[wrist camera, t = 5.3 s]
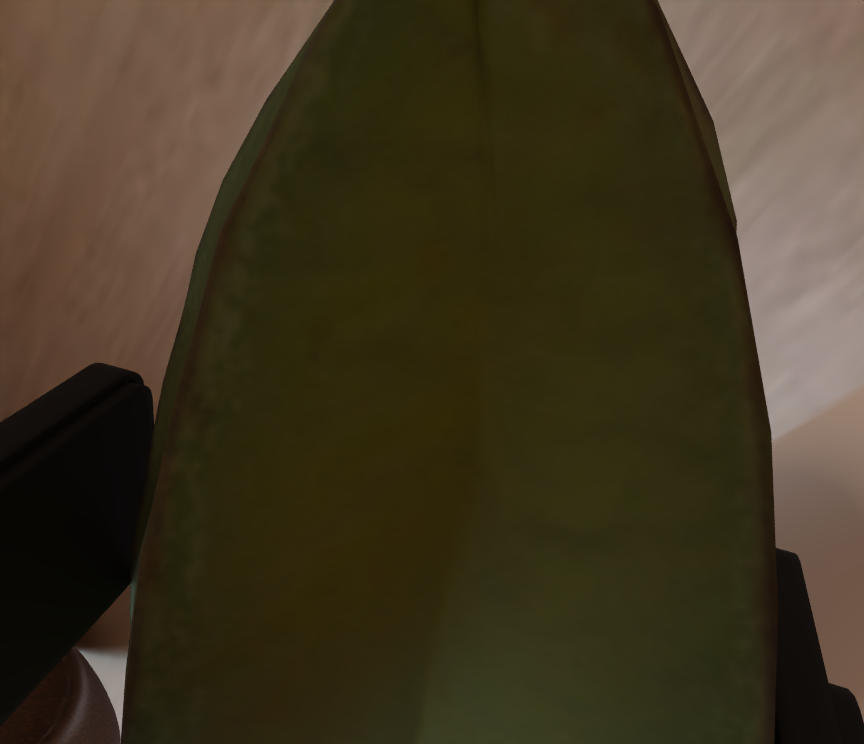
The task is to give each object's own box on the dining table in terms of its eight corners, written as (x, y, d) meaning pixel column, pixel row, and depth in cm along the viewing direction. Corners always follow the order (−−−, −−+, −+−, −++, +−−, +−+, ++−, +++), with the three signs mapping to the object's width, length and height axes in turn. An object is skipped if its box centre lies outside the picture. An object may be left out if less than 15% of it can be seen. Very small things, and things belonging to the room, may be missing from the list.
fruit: (1156, 1092, 7) (886, 541, 12) (659, -387, 1) (541, -252, 6) (267, 1091, 12) (343, 689, 17) (-731, 765, 6) (-148, 303, 11)
